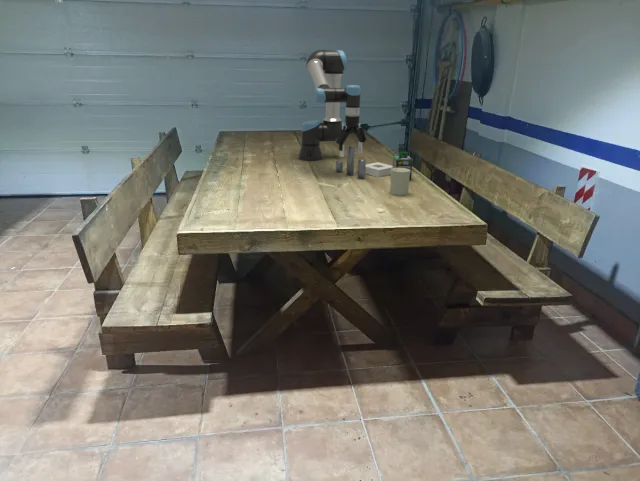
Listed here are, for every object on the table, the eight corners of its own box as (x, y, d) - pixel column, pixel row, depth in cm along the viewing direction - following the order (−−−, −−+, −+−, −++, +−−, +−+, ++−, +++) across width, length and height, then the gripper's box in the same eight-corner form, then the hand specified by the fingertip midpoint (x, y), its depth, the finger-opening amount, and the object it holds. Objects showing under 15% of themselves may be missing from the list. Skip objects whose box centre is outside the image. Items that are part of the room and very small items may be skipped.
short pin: (334, 171, 278) (334, 161, 276) (339, 170, 280) (339, 160, 278) (339, 172, 275) (339, 162, 273) (344, 172, 277) (344, 161, 275)
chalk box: (407, 176, 271) (409, 149, 265) (411, 180, 262) (414, 153, 257) (391, 176, 270) (393, 149, 265) (394, 180, 262) (396, 153, 256)
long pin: (344, 174, 271) (346, 146, 266) (350, 173, 274) (351, 145, 268) (349, 176, 269) (350, 147, 263) (355, 175, 271) (356, 146, 265)
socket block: (360, 172, 277) (360, 165, 276) (377, 168, 286) (378, 162, 284) (378, 177, 267) (378, 170, 266) (395, 173, 276) (395, 166, 274)
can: (388, 190, 243) (390, 166, 239) (407, 190, 243) (409, 166, 239) (390, 195, 235) (392, 170, 230) (409, 195, 235) (411, 171, 230)
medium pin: (356, 177, 265) (356, 159, 261) (361, 176, 267) (362, 158, 264) (361, 179, 262) (362, 161, 258) (366, 178, 264) (367, 160, 261)
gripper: (339, 117, 249) (338, 158, 257) (373, 114, 264) (371, 153, 272) (330, 116, 254) (329, 156, 262) (364, 113, 269) (362, 151, 277)
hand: (350, 155), depth 267 cm, fingers open, 13 cm apart
